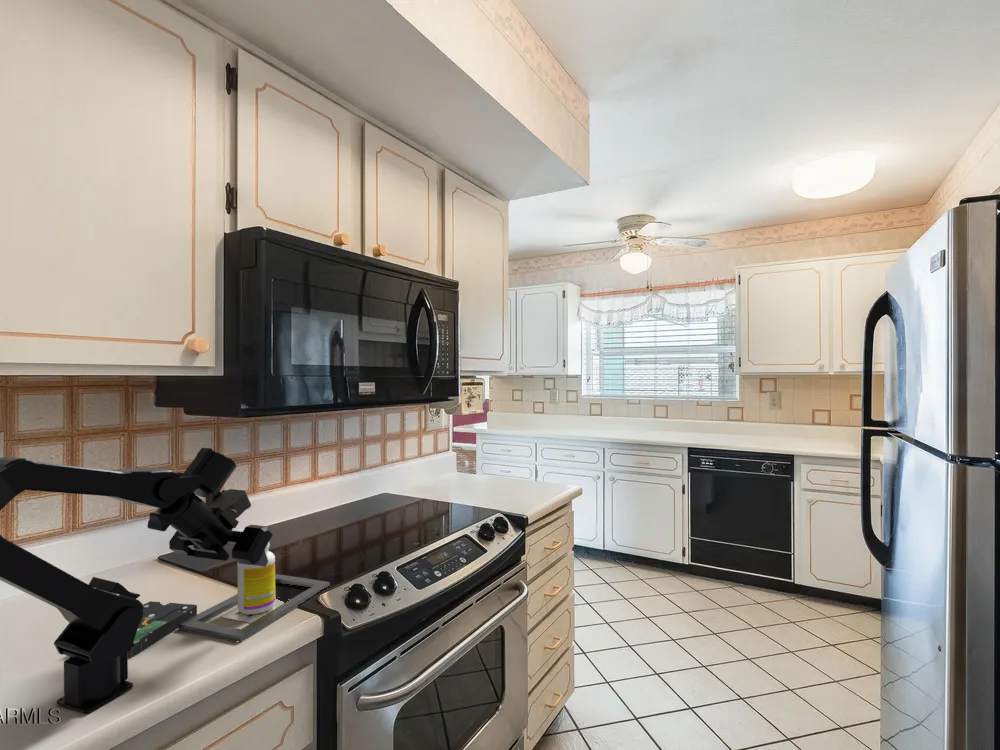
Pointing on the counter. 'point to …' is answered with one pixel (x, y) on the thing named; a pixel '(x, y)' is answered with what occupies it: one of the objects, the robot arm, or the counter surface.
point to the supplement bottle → (256, 586)
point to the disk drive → (159, 623)
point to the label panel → (256, 620)
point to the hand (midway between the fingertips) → (246, 561)
